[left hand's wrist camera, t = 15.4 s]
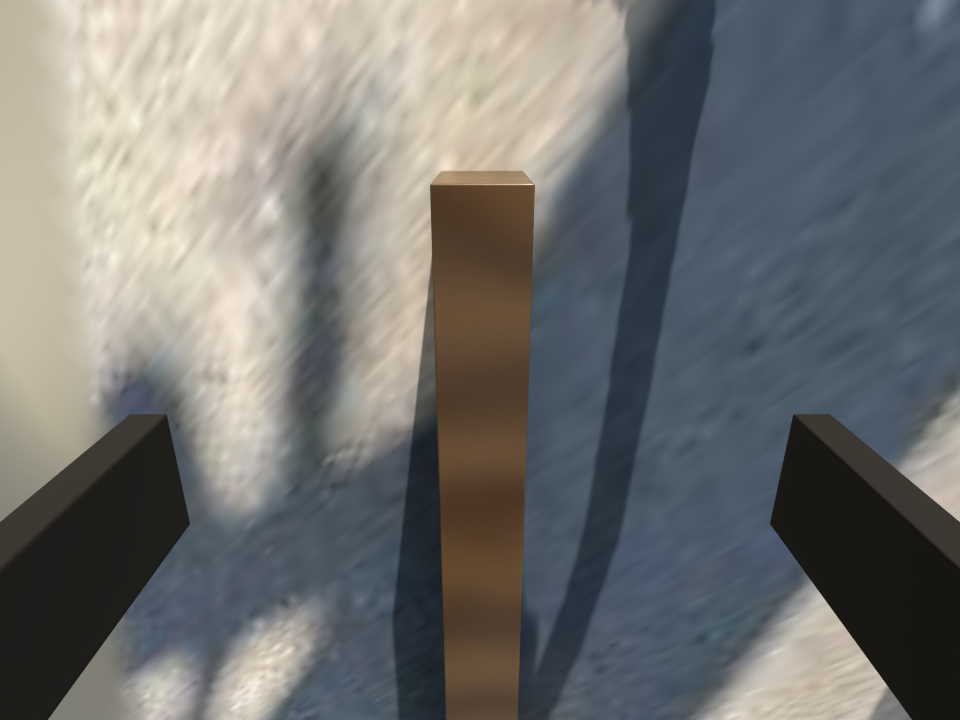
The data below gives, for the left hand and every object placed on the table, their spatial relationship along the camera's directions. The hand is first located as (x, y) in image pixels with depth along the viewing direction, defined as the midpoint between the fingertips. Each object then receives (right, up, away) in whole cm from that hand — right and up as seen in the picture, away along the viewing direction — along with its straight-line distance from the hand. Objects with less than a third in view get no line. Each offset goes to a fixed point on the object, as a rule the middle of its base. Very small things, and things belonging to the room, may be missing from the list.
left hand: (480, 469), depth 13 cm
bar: (0, -12, +33) cm, 35 cm away
